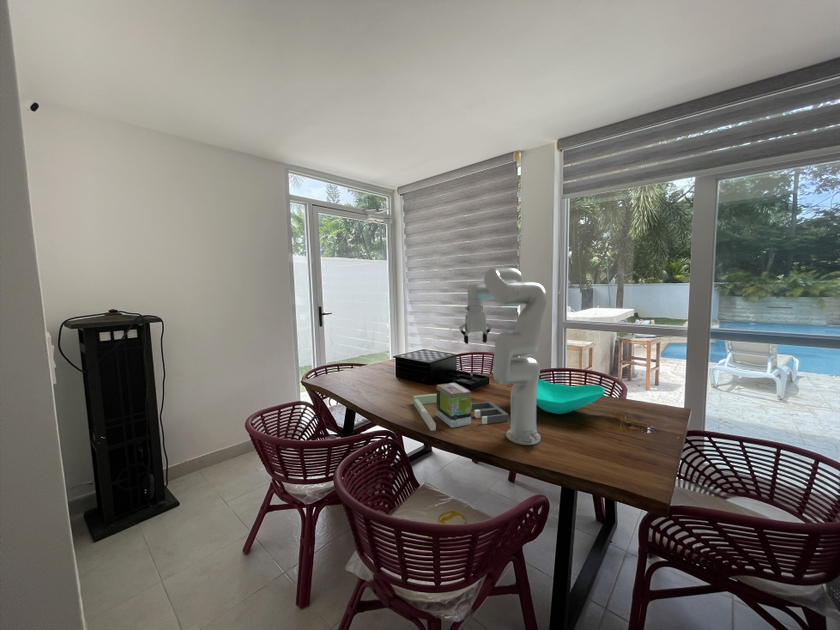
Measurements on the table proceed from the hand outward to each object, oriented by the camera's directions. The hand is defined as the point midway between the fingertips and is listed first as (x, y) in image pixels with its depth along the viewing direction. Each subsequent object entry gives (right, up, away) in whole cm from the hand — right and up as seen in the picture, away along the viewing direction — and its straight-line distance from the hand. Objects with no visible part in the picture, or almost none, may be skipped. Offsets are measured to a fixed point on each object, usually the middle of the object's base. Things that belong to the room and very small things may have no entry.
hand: (475, 342), depth 168 cm
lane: (-15, -32, -12) cm, 37 cm away
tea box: (-13, -33, -20) cm, 40 cm away
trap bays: (+4, -32, -15) cm, 35 cm away
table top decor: (+35, -31, -12) cm, 49 cm away
